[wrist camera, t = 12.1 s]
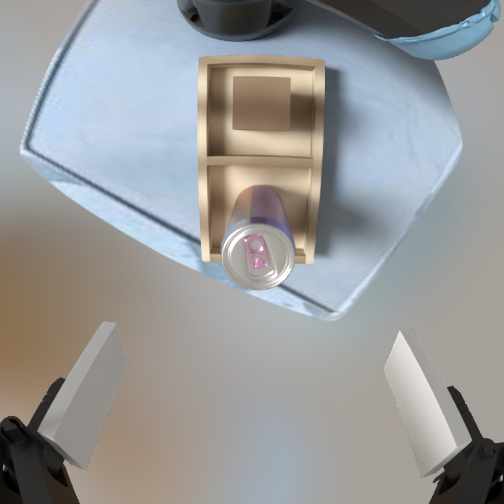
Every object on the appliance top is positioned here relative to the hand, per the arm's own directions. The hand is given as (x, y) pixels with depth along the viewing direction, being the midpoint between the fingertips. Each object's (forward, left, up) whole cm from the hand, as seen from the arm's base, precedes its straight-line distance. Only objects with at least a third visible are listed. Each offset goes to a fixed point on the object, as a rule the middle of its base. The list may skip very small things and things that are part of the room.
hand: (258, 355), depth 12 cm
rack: (-6, 0, -26) cm, 27 cm away
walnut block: (-12, 0, -25) cm, 28 cm away
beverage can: (0, 0, -26) cm, 26 cm away
